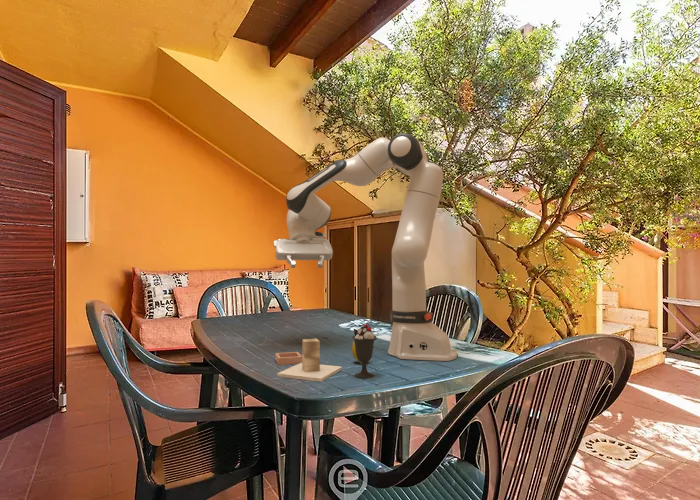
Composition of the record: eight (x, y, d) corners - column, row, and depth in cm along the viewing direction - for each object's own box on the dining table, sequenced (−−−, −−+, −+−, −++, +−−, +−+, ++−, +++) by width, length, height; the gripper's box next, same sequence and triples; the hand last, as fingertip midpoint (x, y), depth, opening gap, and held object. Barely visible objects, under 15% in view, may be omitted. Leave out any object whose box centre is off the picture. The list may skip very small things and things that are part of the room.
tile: (342, 369, 116) (342, 366, 116) (321, 381, 104) (321, 378, 104) (301, 365, 121) (301, 362, 121) (277, 376, 109) (277, 373, 109)
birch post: (316, 367, 115) (316, 338, 115) (319, 371, 111) (319, 341, 111) (302, 368, 114) (302, 339, 114) (305, 372, 110) (305, 342, 110)
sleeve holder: (298, 358, 130) (298, 351, 130) (302, 363, 123) (302, 356, 123) (275, 359, 128) (275, 353, 128) (278, 365, 121) (278, 358, 121)
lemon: (369, 365, 120) (368, 337, 121) (350, 364, 121) (350, 337, 122) (371, 361, 126) (371, 334, 126) (354, 360, 127) (353, 334, 127)
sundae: (380, 377, 107) (380, 319, 108) (356, 380, 105) (355, 320, 106) (372, 371, 113) (372, 316, 114) (348, 373, 111) (348, 317, 112)
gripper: (273, 232, 146) (277, 259, 136) (329, 233, 152) (337, 260, 142) (272, 245, 150) (275, 273, 140) (326, 246, 156) (333, 272, 146)
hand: (306, 266), depth 141 cm, fingers open, 8 cm apart
